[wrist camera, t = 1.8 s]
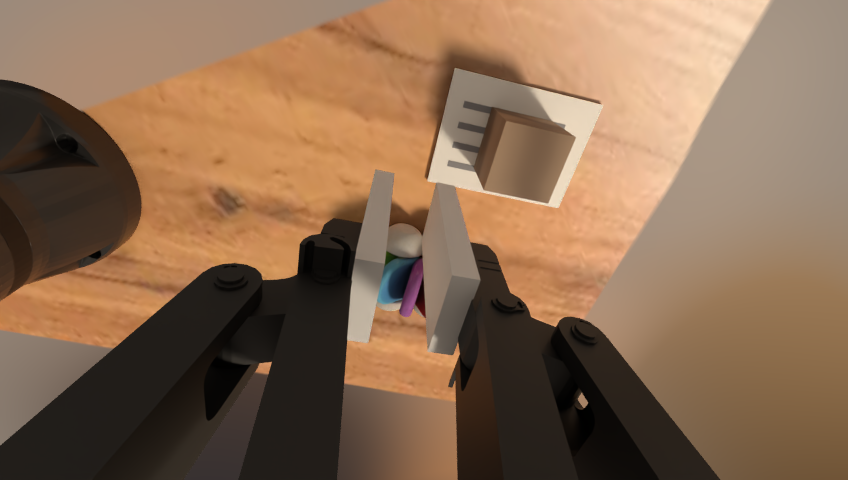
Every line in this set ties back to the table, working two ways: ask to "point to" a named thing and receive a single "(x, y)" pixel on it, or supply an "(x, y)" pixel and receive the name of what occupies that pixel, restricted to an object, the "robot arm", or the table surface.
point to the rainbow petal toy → (403, 272)
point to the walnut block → (522, 155)
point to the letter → (470, 117)
